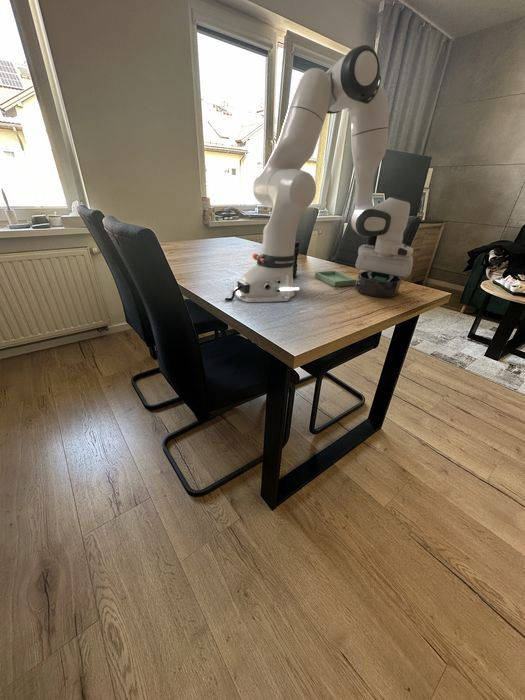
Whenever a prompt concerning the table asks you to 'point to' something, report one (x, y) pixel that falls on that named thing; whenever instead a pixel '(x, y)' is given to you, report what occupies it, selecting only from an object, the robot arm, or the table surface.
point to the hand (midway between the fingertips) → (378, 283)
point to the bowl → (378, 285)
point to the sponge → (379, 278)
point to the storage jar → (296, 252)
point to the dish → (335, 278)
